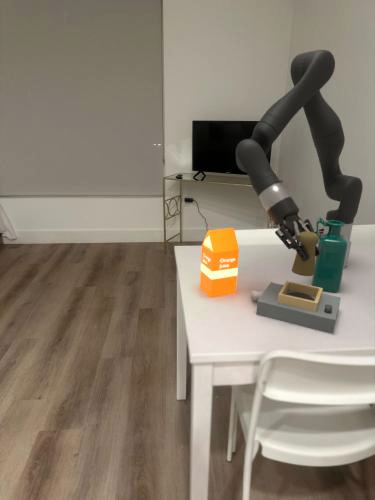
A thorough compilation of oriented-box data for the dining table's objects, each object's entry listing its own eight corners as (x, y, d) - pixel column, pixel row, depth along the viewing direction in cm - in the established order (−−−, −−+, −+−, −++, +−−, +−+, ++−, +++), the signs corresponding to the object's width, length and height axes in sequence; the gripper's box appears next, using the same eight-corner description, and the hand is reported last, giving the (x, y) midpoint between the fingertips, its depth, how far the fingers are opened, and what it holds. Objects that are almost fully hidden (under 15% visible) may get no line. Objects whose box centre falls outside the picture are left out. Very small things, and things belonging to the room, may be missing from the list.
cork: (316, 277, 94) (323, 237, 90) (292, 274, 95) (298, 234, 91) (313, 268, 99) (319, 230, 96) (290, 266, 100) (296, 228, 97)
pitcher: (338, 283, 120) (349, 219, 113) (339, 293, 113) (352, 226, 105) (307, 278, 123) (317, 216, 115) (306, 288, 115) (316, 222, 108)
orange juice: (199, 287, 115) (202, 227, 108) (224, 283, 118) (227, 224, 111) (210, 298, 108) (214, 234, 101) (236, 293, 111) (241, 231, 104)
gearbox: (338, 309, 103) (342, 289, 101) (332, 333, 91) (336, 311, 89) (258, 291, 113) (260, 272, 111) (243, 310, 101) (245, 290, 99)
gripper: (272, 199, 91) (309, 257, 87) (302, 192, 100) (336, 245, 96) (253, 215, 96) (287, 270, 92) (283, 207, 106) (315, 257, 102)
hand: (312, 257), depth 94 cm, fingers closed on cork, 4 cm apart
